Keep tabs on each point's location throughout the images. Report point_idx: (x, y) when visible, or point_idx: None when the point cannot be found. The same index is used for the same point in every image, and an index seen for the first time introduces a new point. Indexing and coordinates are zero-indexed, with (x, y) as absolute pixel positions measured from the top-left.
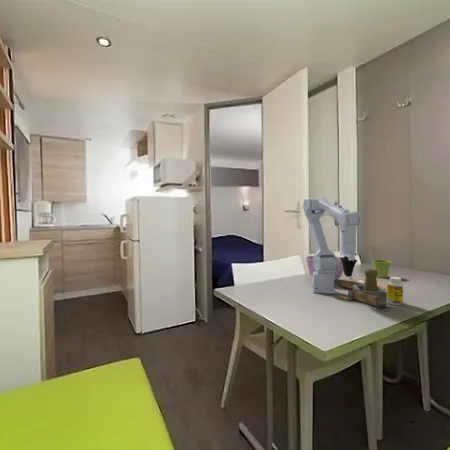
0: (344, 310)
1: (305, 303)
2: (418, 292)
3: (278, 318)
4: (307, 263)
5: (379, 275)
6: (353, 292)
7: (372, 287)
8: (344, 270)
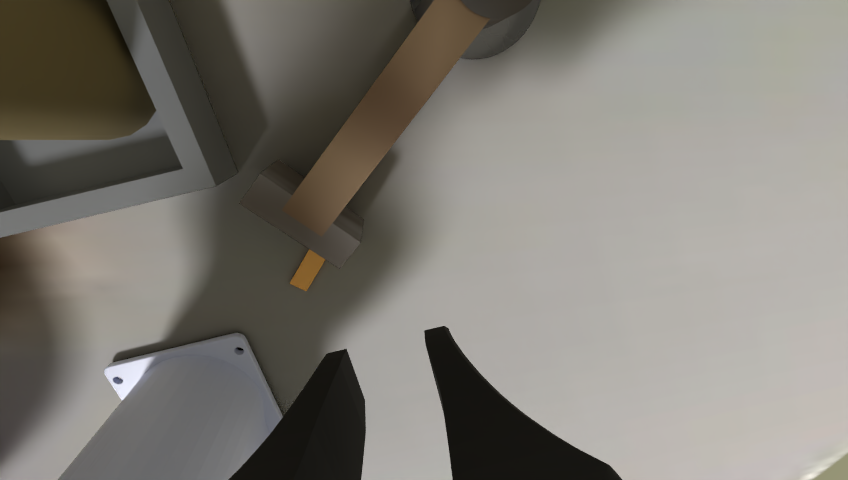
0: (610, 237)
1: None
2: None
3: (787, 462)
4: None
5: None
6: (340, 223)
7: (85, 42)
8: (362, 453)
